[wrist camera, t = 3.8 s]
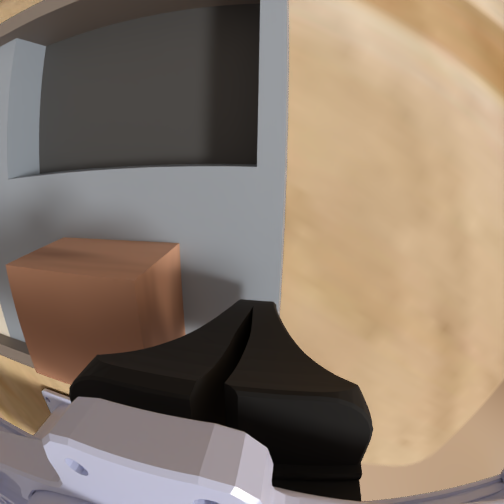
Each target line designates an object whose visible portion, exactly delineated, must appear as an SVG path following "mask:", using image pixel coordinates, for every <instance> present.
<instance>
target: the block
mask: <svg viewBox="0 0 504 504" xmlns="http://www.w3.org/2000/svg"><path fill="white" fill-rule="evenodd" d="M6 270H7V275H8V280H9V284H10V288H11V293H12V297H13V301H14V304H15V308H16V312H17V316H18V319H19V322H20V326H21V329H22V332H23V336H24V339H25V342H26V345H27V348H28V351H29V354H30V356H31V359H32V362H33V365H34V367H35V370H36V372H37V373H39V374H42V375H45V376H47V377H50V378H53V379H56V380H59V381H62V382H64V383H67V384H70V385H71V384H72V383H73V381H74V380H75V379H76V377H77V376H78V375H79V374H80V373H81V372H82V371H83V370H84V368H85V367H86V366H87V365H88V364H89V363H90V362H91V361H92V360H93V358H94V357H95V356H96V355H101V354H113V353H123V352H130V351H135V350H140V349H145V348H149V347H153V346H157V345H160V344H163V343H166V342H169V341H172V340H175V339H177V338H180V337H182V336H184V335H186V334H185V323H184V310H183V297H182V282H181V264H180V244H179V243H168V242H148V241H129V240H109V239H88V238H67V237H63V238H61V239H59V240H57V241H54V242H52V243H50V244H48V245H46V246H44V247H41V248H39V249H37V250H35V251H33V252H31V253H29V254H26V255H24V256H22V257H20V258H18V259H16V260H14V261H12V262H10V263H8V264H6Z"/></svg>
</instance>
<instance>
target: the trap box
mask: <svg viewBox="0 0 504 504" xmlns="http://www.w3.org/2000/svg"><path fill="white" fill-rule="evenodd" d="M288 75H289V11H288V0H43V1H41V2H39V3H37V4H35V5H33V6H31V7H29V8H27V9H26V10H24V11H22V12H20V13H18V14H16V15H15V16H13V17H11V18H9V19H8V20H6V21H4V22H3V23H1V24H0V355H3V356H5V357H7V358H10V359H12V360H14V361H17V362H19V363H22V364H24V365H27V366H29V367H32V368H35V367H34V365H33V362H32V359H31V356H30V354H29V351H28V348H27V345H26V342H25V339H24V336H23V332H22V329H21V326H20V322H19V319H18V316H17V312H16V308H15V304H14V301H13V297H12V293H11V288H10V284H9V280H8V275H7V270H6V264H8V263H10V262H12V261H14V260H16V259H18V258H20V257H22V256H24V255H26V254H29V253H31V252H33V251H35V250H37V249H39V248H41V247H44V246H46V245H48V244H50V243H52V242H54V241H57V240H59V239H61V238H63V237H67V238H88V239H109V240H129V241H148V242H168V243H179V244H180V264H181V282H182V297H183V310H184V323H185V334H188V333H191V332H193V331H194V330H196V329H198V328H200V327H202V326H203V325H205V324H206V323H208V322H210V321H211V320H213V319H214V318H216V317H217V316H219V315H220V314H221V313H223V312H224V311H225V310H227V309H228V308H229V307H231V306H232V305H233V304H234V303H236V302H237V301H238V300H240V299H244V300H257V301H272V302H274V303H275V304H276V308H277V311H278V314H279V316H280V300H281V283H282V265H283V245H284V224H285V199H286V171H287V136H288Z"/></svg>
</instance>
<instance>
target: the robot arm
mask: <svg viewBox="0 0 504 504" xmlns="http://www.w3.org/2000/svg"><path fill="white" fill-rule="evenodd" d="M42 394H43V397H44V399H45V401H46V403H47V406H48V408H49V410H50V412H51V415H50V416H49V417H48V418H47V420H46V421H45V422H44V423H43V424H42V426H41V427H40V428H39V429H38V431H37V432H36V433H35V434H34V435H31V434H29V433H27V432H25V431H23V430H21V429H20V428H18V427H16V426H14V425H12V424H11V423H9V422H7V421H5V420H4V419H2V418H0V504H504V469H503V470H502V472H501V474H499V475H496V476H493V477H490V478H486V479H483V480H480V481H476V482H473V483H469V484H465V485H461V486H457V487H453V488H449V489H445V490H440V491H435V492H430V493H425V494H419V495H413V496H407V497H400V498H392V499H384V500H373V501H361V494H360V484H359V479H360V478H361V476H362V470H361V461H362V458H363V456H364V454H365V452H366V449H367V447H368V445H369V442H370V440H371V436H372V431H373V426H372V420H371V415H370V412H369V409H368V406H367V404H366V401H365V399H364V397H363V395H362V392H361V390H360V388H359V386H358V385H356V384H354V383H352V382H349V381H347V380H345V379H343V378H341V377H338V376H336V375H334V374H333V373H331V372H329V371H328V370H326V369H324V368H323V367H321V366H320V365H319V364H317V363H316V362H314V361H313V360H312V359H311V358H310V357H308V356H307V355H306V354H305V353H304V352H303V351H302V350H301V349H300V348H299V347H298V345H297V344H296V343H295V342H294V340H293V339H292V338H291V336H290V335H289V333H288V332H287V330H286V328H285V326H284V325H283V323H282V321H281V319H280V317H279V314H278V311H277V308H276V304H275V303H274V302H272V301H257V300H244V299H240V300H238V301H237V302H236V303H234V304H233V305H232V306H231V307H229V308H228V309H227V310H225V311H224V312H223V313H221V314H220V315H219V316H217V317H216V318H214V319H213V320H211V321H210V322H208V323H206V324H205V325H203V326H202V327H200V328H198V329H196V330H194V331H193V332H191V333H188V334H186V335H184V336H182V337H180V338H177V339H175V340H172V341H169V342H166V343H163V344H160V345H157V346H153V347H149V348H145V349H140V350H135V351H130V352H123V353H113V354H101V355H96V356H95V357H94V358H93V360H92V361H91V362H90V363H89V364H88V365H87V366H86V367H85V368H84V370H83V371H82V372H81V373H80V374H79V375H78V376H77V377H76V379H75V380H74V381H73V383H72V384H71V386H70V392H69V397H68V396H65V395H62V394H59V393H57V392H54V391H51V390H49V389H46V388H44V389H43V390H42Z"/></svg>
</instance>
